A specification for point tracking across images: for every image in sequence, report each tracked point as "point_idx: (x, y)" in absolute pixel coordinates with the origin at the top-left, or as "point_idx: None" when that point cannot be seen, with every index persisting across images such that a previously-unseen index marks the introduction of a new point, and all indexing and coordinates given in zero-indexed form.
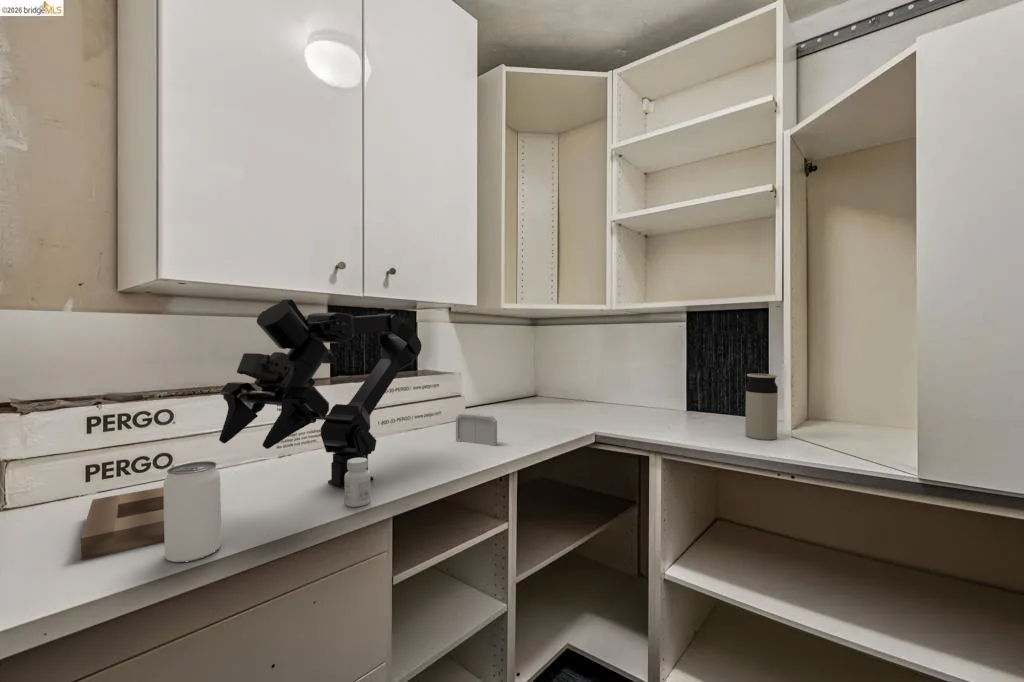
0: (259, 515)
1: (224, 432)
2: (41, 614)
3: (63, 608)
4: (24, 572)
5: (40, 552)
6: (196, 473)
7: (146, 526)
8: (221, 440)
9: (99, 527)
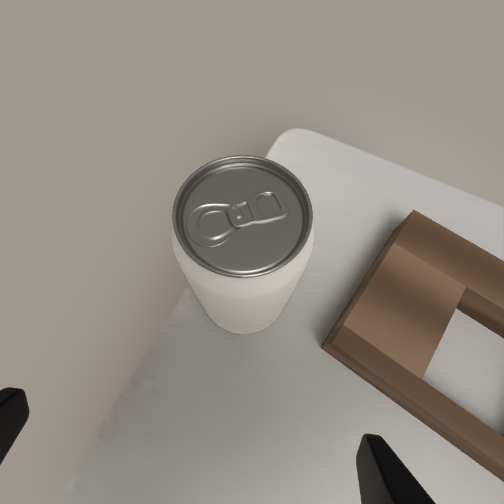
0: (260, 498)
1: (386, 478)
2: (280, 139)
3: (270, 150)
4: (427, 189)
5: (491, 232)
6: (189, 185)
7: (368, 281)
8: (363, 438)
9: (440, 247)
